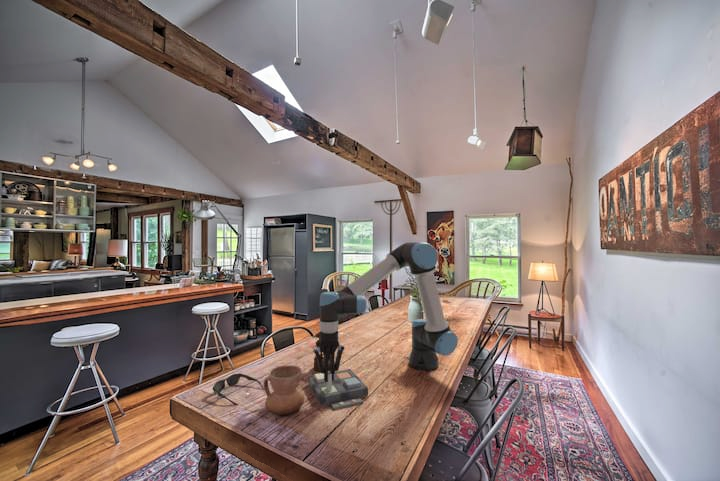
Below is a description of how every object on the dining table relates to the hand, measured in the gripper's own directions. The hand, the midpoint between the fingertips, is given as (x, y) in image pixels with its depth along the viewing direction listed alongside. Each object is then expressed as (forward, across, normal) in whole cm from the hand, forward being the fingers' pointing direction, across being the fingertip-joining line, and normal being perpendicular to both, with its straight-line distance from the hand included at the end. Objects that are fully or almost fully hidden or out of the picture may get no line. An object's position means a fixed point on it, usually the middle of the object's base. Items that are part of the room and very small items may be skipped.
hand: (328, 388), depth 121 cm
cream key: (+1, 0, -10) cm, 10 cm away
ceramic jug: (+4, +18, 0) cm, 18 cm away
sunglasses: (+4, +34, -20) cm, 39 cm away
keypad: (+4, -5, -5) cm, 8 cm away
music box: (+4, -7, -29) cm, 30 cm away
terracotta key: (+2, -10, -10) cm, 14 cm away
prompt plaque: (+4, -5, +8) cm, 10 cm away
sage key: (+2, 0, 0) cm, 2 cm away
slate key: (+1, -10, 0) cm, 10 cm away
